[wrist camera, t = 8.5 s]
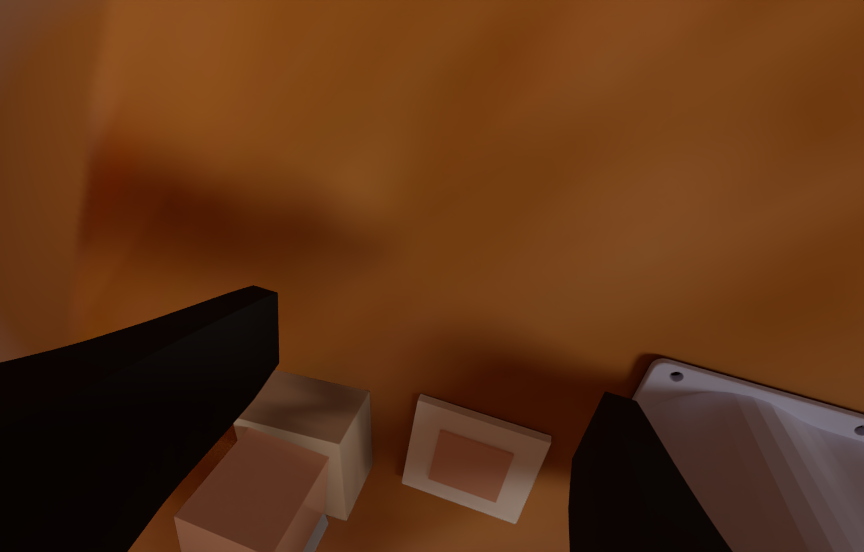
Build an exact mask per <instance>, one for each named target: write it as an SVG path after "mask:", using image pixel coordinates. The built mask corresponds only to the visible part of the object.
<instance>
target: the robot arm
mask: <svg viewBox="0 0 864 552" xmlns="http://www.w3.org/2000/svg"><path fill="white" fill-rule="evenodd" d="M278 364H279V331H278V293H277V292H274V291H270V290H267V289H264V288H260V287H257V286H254V285H253V286H250V287H246V288H243V289H239V290H236V291H233V292H230V293H227V294H224V295H221V296H218V297H216V298H213V299H210V300H207V301H204V302H201V303H199V304H196V305H193V306H190V307H187V308H184V309H182V310H179V311H176V312H173V313H170V314H167V315H164V316H162V317H159V318H156V319H153V320H150V321H147V322H144V323H141V324H137V325H134V326H131V327H128V328H125V329H122V330H118V331H115V332H112V333H109V334H106V335H103V336H99V337H96V338H93V339H90V340H87V341H83V342H80V343H76V344H73V345H69V346H65V347H61V348H58V349H54V350H51V351H46V352H42V353H38V354H34V355H30V356H26V357H22V358H18V359H14V360H9V361H5V362H1V363H0V552H127V551H128V550H129V549H130V547H131V546H132V545H133V543H134V542H135V541H136V539H137V538H138V537H139V535H140V534H141V533H142V531H143V530H144V529H145V527H146V526H147V525H148V523H149V522H150V520H151V519H152V518H153V516H154V515H155V514H156V512H157V511H158V510H159V508H160V507H161V506H162V504H163V503H164V502H165V501H166V499H167V498H168V497H169V496H170V495H171V493H172V492H173V491H174V490H175V489H176V487H177V486H178V485H179V484H180V483H181V481H182V480H183V479H184V478H185V477H186V476H187V475H188V474H189V473H190V471H191V470H192V469H193V468H194V467H195V466H196V465H197V464H198V462H199V461H200V460H201V459H202V458H203V457H204V456H205V455H206V454H207V452H208V451H209V450H210V449H211V448H212V447H213V446H214V445H215V443H216V442H217V441H218V440H219V439H220V438H221V437H222V436H223V435H224V433H225V432H226V431H227V430H228V429H229V428H230V427H231V426H232V424H233V423H234V422H235V421H236V420H237V419H238V418H239V416H240V415H241V414H242V413H243V412H244V411H245V410H246V408H247V407H248V406H249V405H250V404H251V403H252V401H253V400H254V399H255V398H256V396H257V395H258V393H259V392H260V390H261V389H262V388H263V386H264V385H265V383H266V382H267V380H268V379H269V377H270V376H271V374H272V373H273V371H274V370H275V368H276V367H277V365H278ZM673 372H680V374H679V375H676V376H672V375H670V374H671V373H673ZM862 425H864V415H863V414H860V413H856V412H853V411H849V410H846V409H842V408H838V407H835V406H831V405H828V404H824V403H821V402H817V401H814V400H810V399H807V398H803V397H800V396H796V395H793V394H789V393H786V392H782V391H779V390H775V389H772V388H768V387H764V386H761V385H757V384H754V383H750V382H747V381H743V380H740V379H736V378H733V377H729V376H726V375H722V374H719V373H715V372H712V371H708V370H705V369H701V368H698V367H694V366H690V365H687V364H683V363H680V362H676V361H673V360H669V359H664V358H661V359H657V360H655V361H653V362H652V363H651V364H650V366H649V368H648V370H647V372H646V374H645V376H644V377H643V379H642V381H641V383H640V385H639V387H638V389H637V391H636V392H635V394H634V396H633V398H632V399H629V398H625V397H622V396H619V395H615V394H612V393H609V392H605V393H604V395H603V397H602V399H601V401H600V403H599V405H598V407H597V409H596V411H595V413H594V415H593V417H592V419H591V421H590V423H589V426H588V428H587V430H586V432H585V434H584V436H583V438H582V440H581V442H580V444H579V446H578V448H577V450H576V452H575V454H574V456H573V458H572V468H571V479H570V492H569V507H568V513H569V541H570V552H864V426H862ZM858 426H862V427H860V428H856V427H858Z"/></svg>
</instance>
